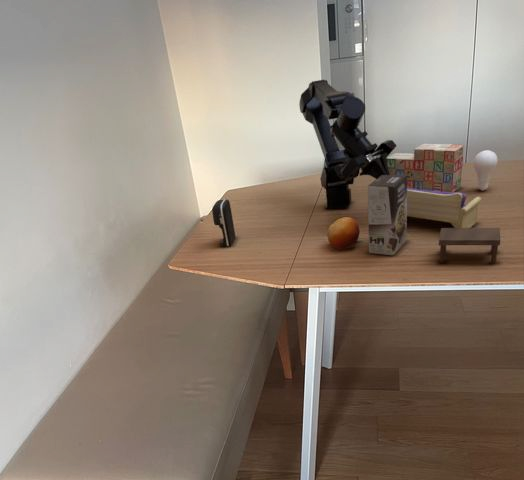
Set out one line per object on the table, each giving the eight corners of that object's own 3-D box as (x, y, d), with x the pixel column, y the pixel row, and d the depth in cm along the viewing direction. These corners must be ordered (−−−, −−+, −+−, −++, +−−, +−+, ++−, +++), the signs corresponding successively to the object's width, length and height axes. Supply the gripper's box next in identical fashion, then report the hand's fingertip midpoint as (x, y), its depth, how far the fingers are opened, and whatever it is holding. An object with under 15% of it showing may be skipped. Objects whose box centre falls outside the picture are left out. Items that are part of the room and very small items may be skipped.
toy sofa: (479, 223, 128) (483, 182, 123) (463, 236, 124) (467, 193, 118) (404, 213, 142) (404, 175, 136) (387, 224, 137) (387, 185, 131)
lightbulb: (470, 193, 147) (473, 154, 141) (472, 187, 152) (475, 148, 146) (494, 193, 145) (498, 152, 139) (494, 186, 149) (498, 147, 143)
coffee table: (437, 263, 113) (439, 240, 110) (440, 250, 118) (441, 228, 115) (497, 264, 109) (500, 240, 106) (497, 251, 114) (499, 227, 111)
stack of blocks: (386, 188, 162) (385, 147, 155) (395, 182, 165) (395, 142, 159) (452, 194, 149) (455, 150, 142) (461, 187, 153) (464, 144, 146)
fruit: (367, 245, 123) (348, 218, 121) (339, 262, 127) (320, 236, 124) (368, 232, 130) (350, 207, 127) (342, 249, 134) (324, 224, 131)
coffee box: (394, 256, 120) (394, 186, 111) (368, 253, 123) (366, 185, 114) (407, 241, 126) (408, 174, 117) (382, 239, 129) (381, 173, 120)
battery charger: (223, 238, 145) (215, 198, 139) (236, 237, 144) (229, 197, 138) (217, 248, 139) (209, 206, 133) (231, 247, 139) (223, 205, 133)
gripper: (354, 150, 146) (389, 193, 145) (314, 169, 135) (351, 215, 134) (377, 121, 137) (415, 166, 136) (337, 138, 126) (377, 187, 125)
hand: (389, 184), depth 133 cm, fingers closed
